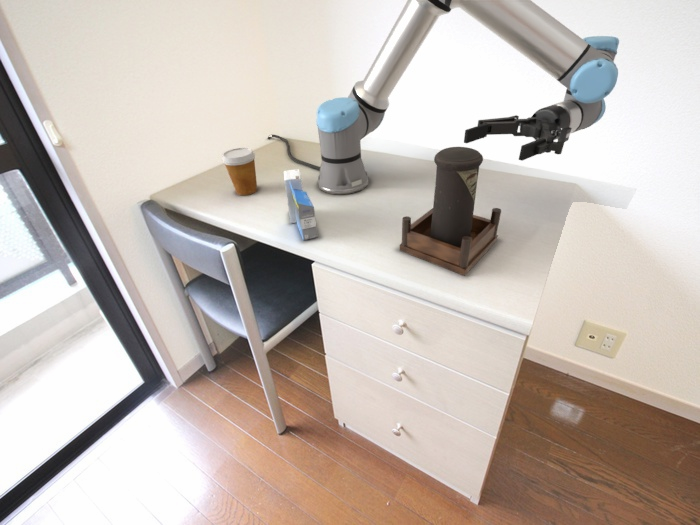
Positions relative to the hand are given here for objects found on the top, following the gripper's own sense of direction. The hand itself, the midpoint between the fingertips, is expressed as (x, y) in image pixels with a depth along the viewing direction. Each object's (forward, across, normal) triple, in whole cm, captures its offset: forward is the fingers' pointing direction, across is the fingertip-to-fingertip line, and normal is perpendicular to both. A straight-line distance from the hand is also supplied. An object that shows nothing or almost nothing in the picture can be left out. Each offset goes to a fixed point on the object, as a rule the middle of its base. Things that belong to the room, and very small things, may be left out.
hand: (491, 144), depth 74 cm
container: (+10, 0, -19) cm, 21 cm away
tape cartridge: (+31, +27, -21) cm, 46 cm away
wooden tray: (+10, 0, -20) cm, 23 cm away
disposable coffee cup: (+34, +60, -21) cm, 72 cm away
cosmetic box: (+29, +34, -21) cm, 50 cm away
